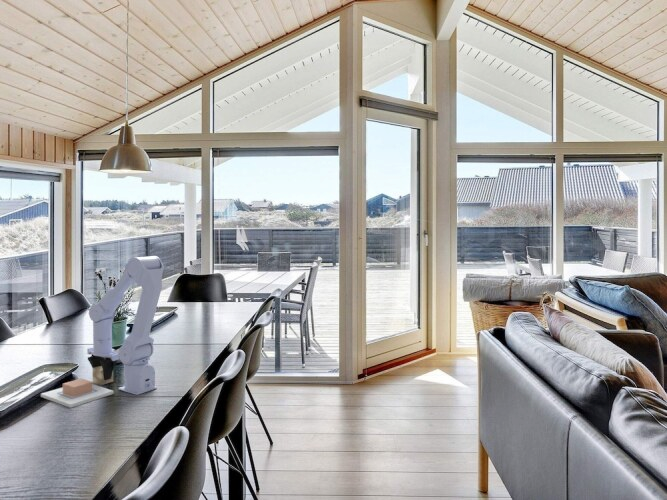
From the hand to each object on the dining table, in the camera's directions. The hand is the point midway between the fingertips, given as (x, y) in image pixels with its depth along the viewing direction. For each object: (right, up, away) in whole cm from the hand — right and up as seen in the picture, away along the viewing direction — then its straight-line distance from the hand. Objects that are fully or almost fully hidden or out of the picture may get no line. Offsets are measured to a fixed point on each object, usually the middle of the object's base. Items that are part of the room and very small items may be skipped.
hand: (102, 377), depth 165 cm
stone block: (-5, 0, +27) cm, 27 cm away
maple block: (0, -1, 0) cm, 1 cm away
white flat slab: (-2, -2, -13) cm, 13 cm away
